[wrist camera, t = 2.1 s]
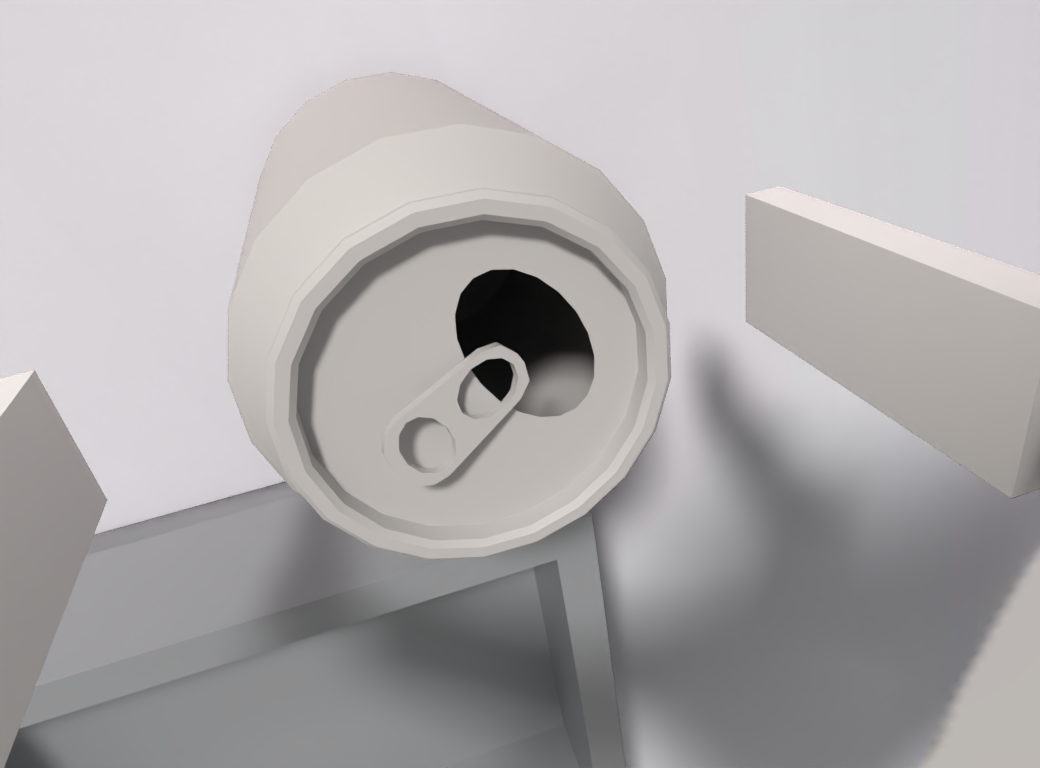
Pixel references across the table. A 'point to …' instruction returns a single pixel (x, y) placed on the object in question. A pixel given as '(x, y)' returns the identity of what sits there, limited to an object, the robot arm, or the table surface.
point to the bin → (322, 651)
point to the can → (443, 322)
